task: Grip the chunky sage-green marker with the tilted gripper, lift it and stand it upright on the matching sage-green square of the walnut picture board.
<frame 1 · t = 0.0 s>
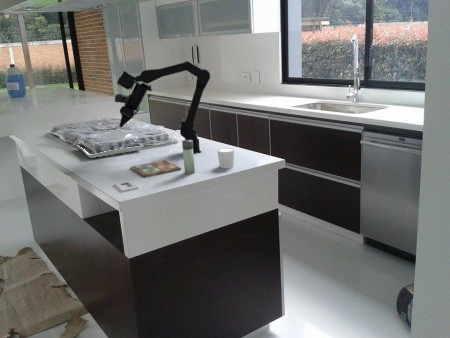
hand: (122, 124, 198), 15 cm above the worktop, tool tilted 35°, fingers open, 9 cm apart
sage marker: (189, 172, 172), on the worktop
square plate: (110, 151, 215), on the worktop
white cup: (226, 166, 178), on the worktop
picture board: (155, 169, 179), on the worktop
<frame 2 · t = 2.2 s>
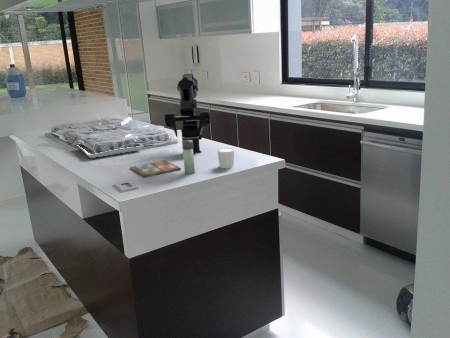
hand: (188, 135, 175), 13 cm above the worktop, tool tilted 45°, fingers open, 9 cm apart
nothing on the worktop moved.
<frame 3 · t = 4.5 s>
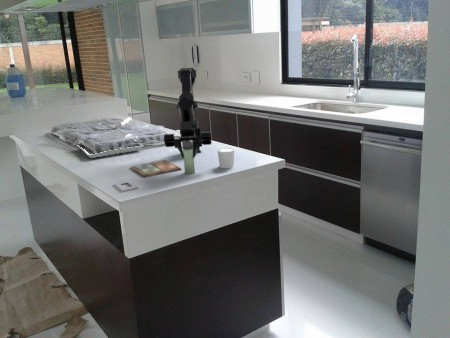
hand: (188, 157, 168), 7 cm above the worktop, tool tilted 45°, fingers closed on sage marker, 4 cm apart
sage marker: (189, 172, 171), on the worktop, touching gripper
everything else where it was.
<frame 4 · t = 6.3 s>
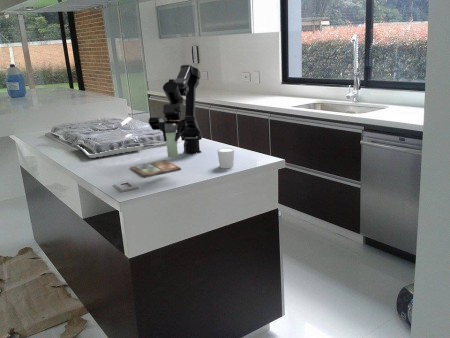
hand: (170, 141, 167), 13 cm above the worktop, tool tilted 45°, fingers closed on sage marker, 4 cm apart
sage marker: (172, 156, 170), point 7 cm above the worktop, touching gripper
everything else where it was.
when the fingers open (9 cm above the worktop, at t = 8.2 s): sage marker drops 1 cm, resting on picture board.
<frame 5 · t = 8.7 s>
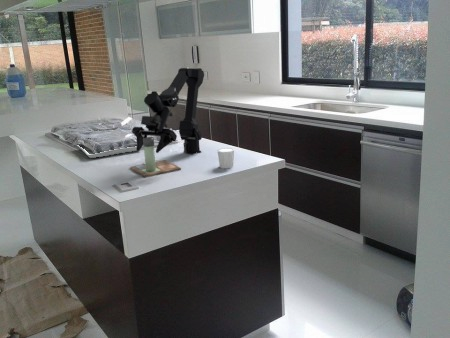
hand: (146, 151, 171), 9 cm above the worktop, tool tilted 45°, fingers open, 9 cm apart
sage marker: (150, 169, 175), point 1 cm above the worktop, touching picture board
everything else where it was.
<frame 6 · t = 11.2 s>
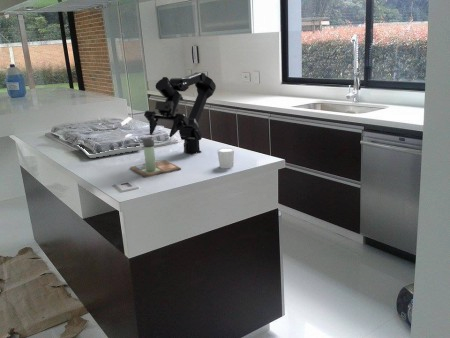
hand: (160, 135, 179), 13 cm above the worktop, tool tilted 40°, fingers open, 9 cm apart
nothing on the worktop moved.
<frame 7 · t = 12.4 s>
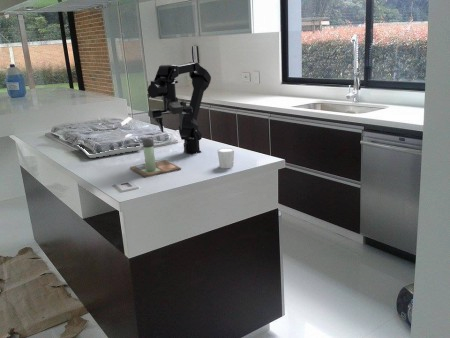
hand: (172, 130, 189), 13 cm above the worktop, tool pointing down, fingers open, 9 cm apart
nothing on the worktop moved.
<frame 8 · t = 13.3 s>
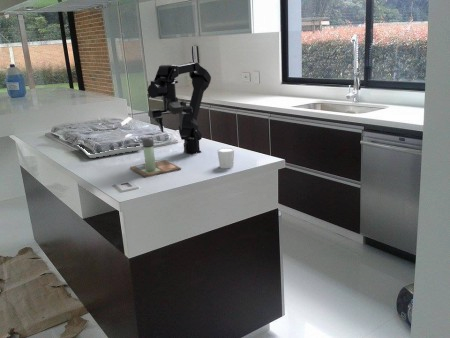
hand: (172, 130, 189), 13 cm above the worktop, tool pointing down, fingers open, 9 cm apart
nothing on the worktop moved.
at the end: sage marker 0.0 cm from the target spot on the picture board, point 0.9 cm above the picture board's base; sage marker tilted 1°; the gripper is holding nothing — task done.
